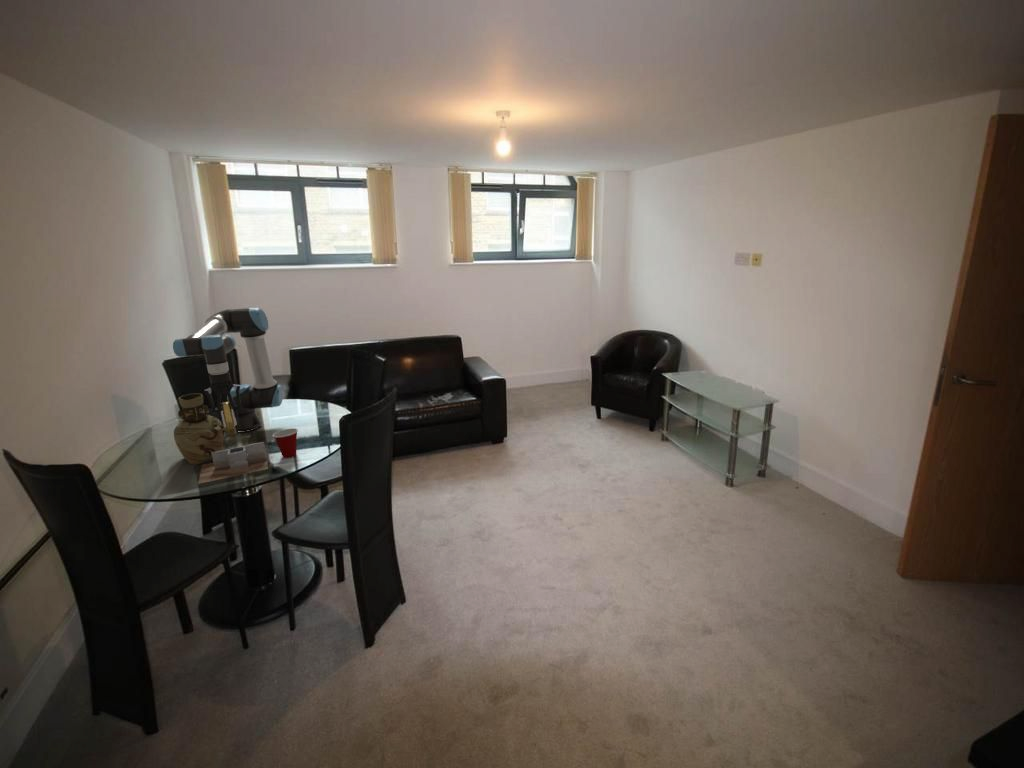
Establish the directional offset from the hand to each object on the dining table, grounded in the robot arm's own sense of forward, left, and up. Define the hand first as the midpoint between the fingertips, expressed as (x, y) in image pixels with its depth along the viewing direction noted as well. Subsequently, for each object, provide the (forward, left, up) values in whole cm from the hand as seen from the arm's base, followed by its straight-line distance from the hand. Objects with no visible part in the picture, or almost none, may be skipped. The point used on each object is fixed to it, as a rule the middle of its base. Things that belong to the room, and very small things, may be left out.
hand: (230, 425), depth 208 cm
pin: (0, 0, -4) cm, 4 cm away
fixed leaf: (0, +4, -20) cm, 20 cm away
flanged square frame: (0, -3, -19) cm, 19 cm away
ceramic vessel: (-23, -15, -21) cm, 34 cm away
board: (-1, -2, -21) cm, 21 cm away
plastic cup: (-4, +20, -21) cm, 29 cm away
